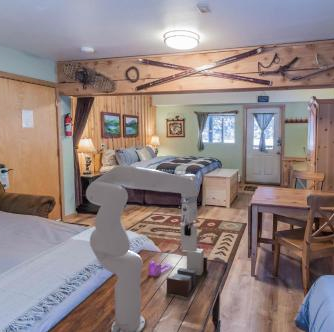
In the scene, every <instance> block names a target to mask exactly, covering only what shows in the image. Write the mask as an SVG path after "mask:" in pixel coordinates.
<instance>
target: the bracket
mask: <svg viewBox="0 0 334 332" xmlns="http://www.w3.org/2000/svg"><path fill="white" fill-rule="evenodd" d="M171 268H172V265H171V264H170V263H164V264H161V263H157V262H155V261H153V260H151V261H150V262H149V263H148V276H149V277H153V276H155V277H157V276H159V275H161V274H163V273H164V272H167V270H169V269H171Z"/></svg>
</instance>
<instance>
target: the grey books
mask: <svg viewBox="0 0 334 332" xmlns="http://www.w3.org/2000/svg"><path fill="white" fill-rule="evenodd" d="M171 277H173V278H178V279H184V280H189V291H190V290H191V286H194V285H195V279H196V271H195V270H189V269H187V268H184V267H179V268H178V269H177V270H176V273H174V274H173V275H172V276H171Z"/></svg>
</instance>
